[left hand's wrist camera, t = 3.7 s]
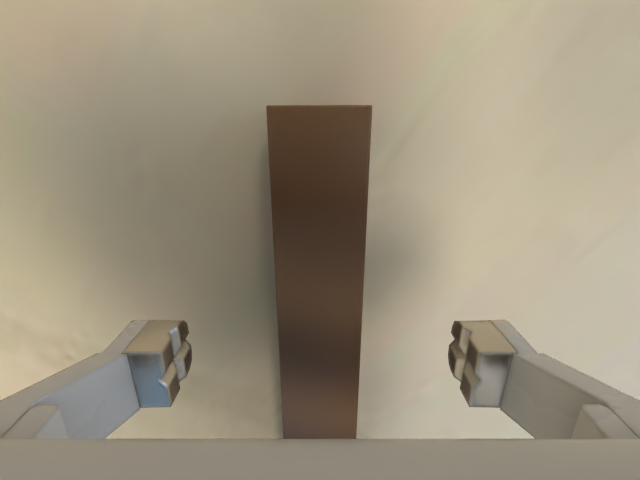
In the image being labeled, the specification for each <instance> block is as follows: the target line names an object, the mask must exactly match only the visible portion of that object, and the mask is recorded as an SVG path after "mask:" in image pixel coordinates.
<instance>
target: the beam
mask: <svg viewBox="0 0 640 480" xmlns="http://www.w3.org/2000/svg"><path fill="white" fill-rule="evenodd" d="M371 119H372V106H371V105H307V106H267V126H268V145H269V164H270V183H271V202H272V221H273V240H274V259H275V278H276V297H277V316H278V335H279V354H280V373H281V392H282V411H283V430H284V439H356V430H357V409H358V388H359V368H360V347H361V326H362V306H363V285H364V264H365V243H366V223H367V202H368V181H369V161H370V140H371Z"/></svg>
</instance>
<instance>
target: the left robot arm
mask: <svg viewBox="0 0 640 480" xmlns="http://www.w3.org/2000/svg"><path fill="white" fill-rule="evenodd" d="M188 333H189V331H188V326H187V323H186V322H185V321H180V320H134V321H131V322H130V323H129V325H128V326H127V327H126V328H125V329H124V330H123V331H122V332H121V333H120V334H119V336H118V337H117V338H116V339H115V340H114V341H113V342H112V343H111V344H110V345H109V347H108V348H107V349H106V350H105V351H104V352H103V353H102V354H95V355H93V356H91V357H89V358H87V359H85V360H83V361H81V362H79V363H76V364H74V365H72V366H70V367H68V368H66V369H64V370H62V371H60V372H58V373H56V374H54V375H52V376H50V377H48V378H46V379H44V380H42V381H40V382H38V383H36V384H34V385H31V386H29V387H27V388H25V389H23V390H21V391H19V392H17V393H15V394H13V395H11V396H9V397H7V398H5V399H3V400H1V401H0V480H640V401H639V400H637V399H635V398H633V397H631V396H629V395H627V394H625V393H623V392H621V391H619V390H617V389H614V388H612V387H610V386H608V385H606V384H604V383H602V382H600V381H598V380H596V379H594V378H592V377H590V376H588V375H586V374H584V373H582V372H580V371H578V370H576V369H574V368H572V367H570V366H568V365H566V364H563V363H561V362H559V361H557V360H555V359H553V358H551V357H549V356H547V355H545V354H538V353H537V352H536V351H535V350H534V349H533V348H532V347H531V345H530V344H529V343H528V342H527V341H526V340H525V339H524V338H523V337H522V336H521V334H520V333H519V332H518V331H517V330H516V329H515V328H514V327H513V326H512V325H511V323H510V322H509V321H507V320H485V321H454V323H453V325H452V331H451V333H452V335H453V337H454V338H455V340H454V341H453V342H452V343H451V344H450V345H449V351H448V359H449V366H450V369H451V372H452V374H453V376H454V377H455V378H456V379H458V380H459V381H461V385H460V390H461V392H462V394H463V396H464V397H465V399H466V401H467V403H468V405H469V407H494V408H500V409H501V410H502V411H503V412H504V413H505V414H507V415H508V416H509V417H510V418H511V419H513V420H514V421H515V422H516V423H517V424H519V425H520V426H521V427H522V428H523V429H525V430H526V431H527V432H528V433H529V434H531V435H532V436H533V437H534V438H535V439H105V438H106V437H107V436H108V435H109V434H111V433H112V432H113V431H114V430H115V429H117V428H118V427H119V426H120V425H122V424H123V423H124V422H125V421H126V420H128V419H129V418H130V417H131V416H132V415H134V414H135V413H136V412H137V411H138V410H140V408H146V407H171V405H172V403H173V401H174V399H175V397H176V396H177V394H178V392H179V390H180V385H179V381H181V380H182V379H184V378H185V377H186V376H187V374H188V372H189V369H190V365H191V360H192V350H191V345H190V344H189V343H188V342H187V341H186V340H185V338H186V337H187V335H188Z"/></svg>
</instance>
